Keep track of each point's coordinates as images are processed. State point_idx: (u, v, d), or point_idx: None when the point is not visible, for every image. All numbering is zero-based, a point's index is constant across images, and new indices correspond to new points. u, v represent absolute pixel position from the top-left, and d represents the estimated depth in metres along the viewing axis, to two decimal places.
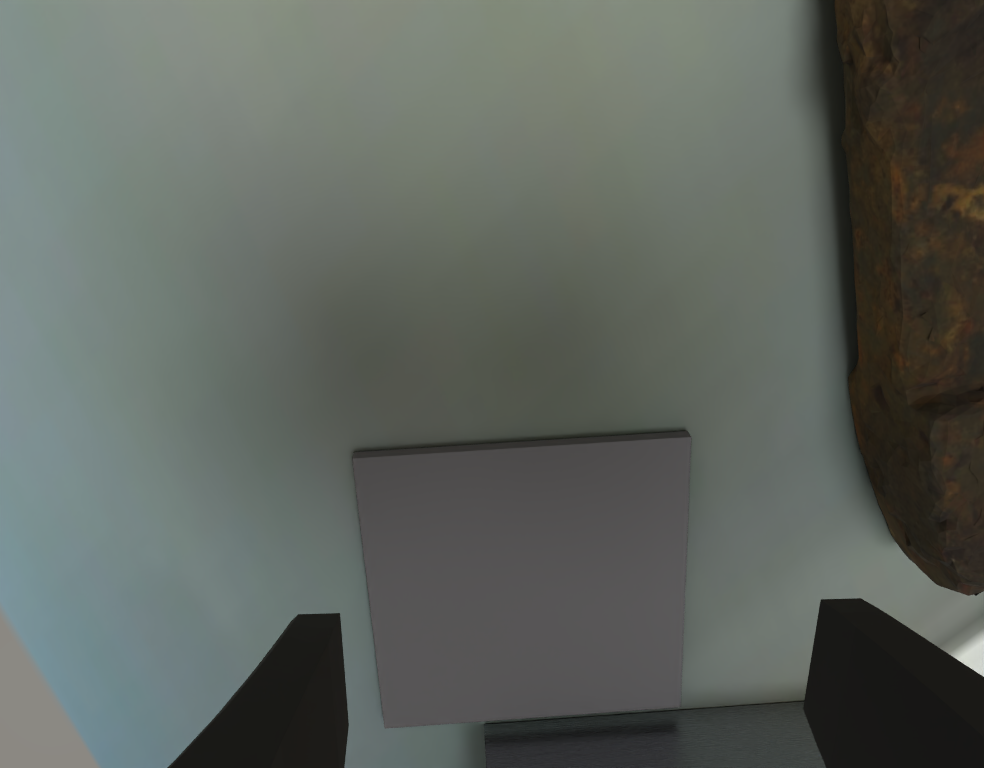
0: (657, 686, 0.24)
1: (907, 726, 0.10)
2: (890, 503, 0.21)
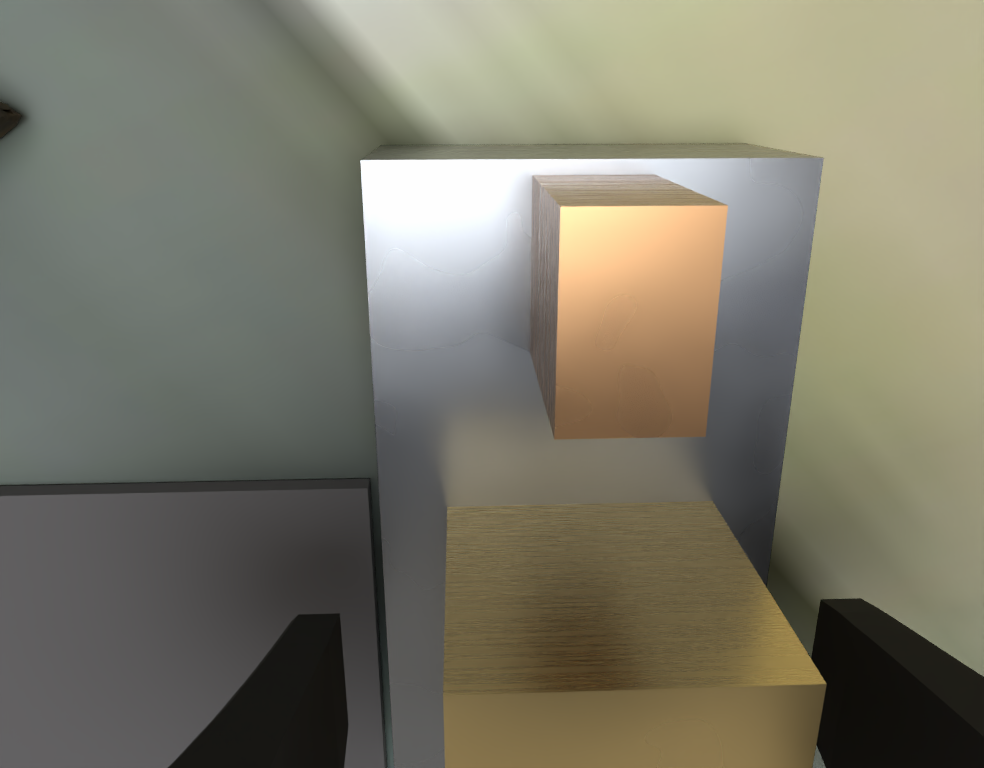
0: (323, 525, 0.15)
1: (907, 726, 0.10)
2: None
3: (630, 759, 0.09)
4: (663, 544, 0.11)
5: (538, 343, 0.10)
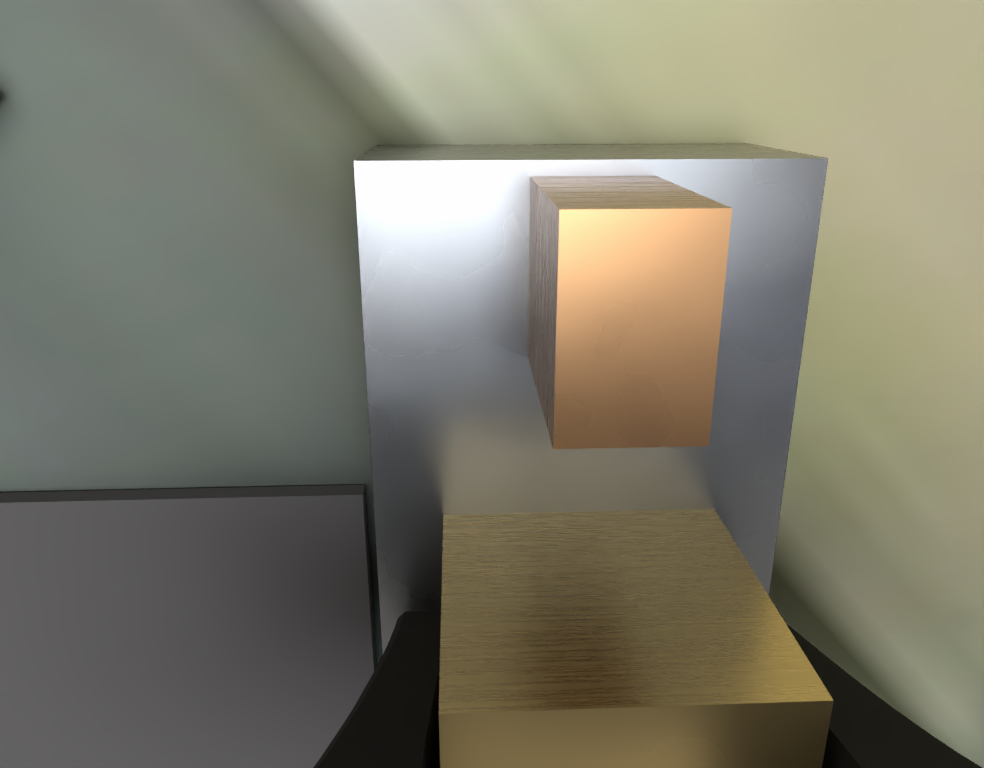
0: (317, 532, 0.15)
1: None
2: None
3: None
4: (664, 553, 0.11)
5: (536, 349, 0.10)
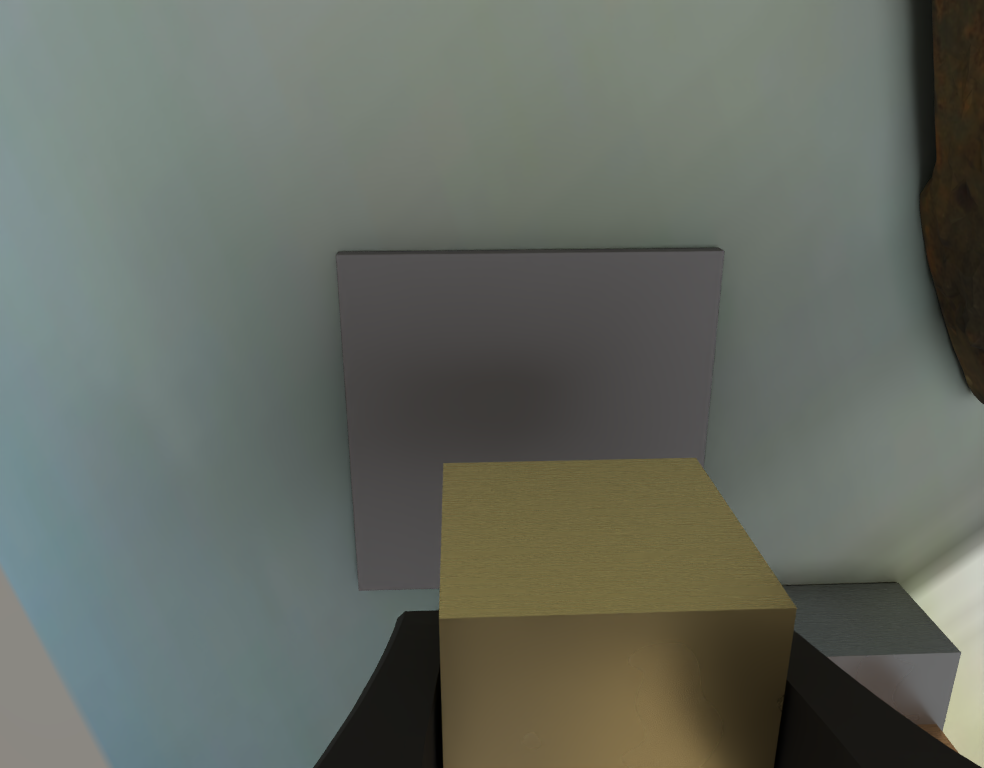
0: None
1: (783, 731, 0.10)
2: (973, 331, 0.18)
3: (614, 681, 0.09)
4: (648, 494, 0.12)
5: None
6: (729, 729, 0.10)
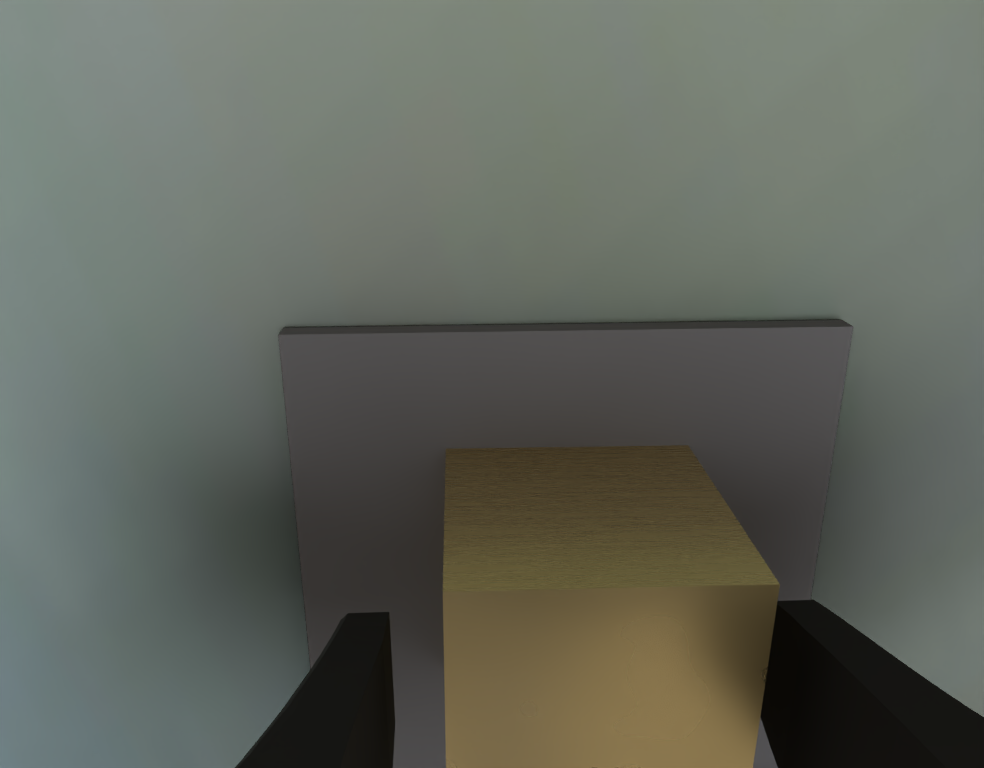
0: None
1: (850, 728, 0.10)
2: None
3: (608, 653, 0.10)
4: (641, 478, 0.12)
5: None
6: (715, 699, 0.10)
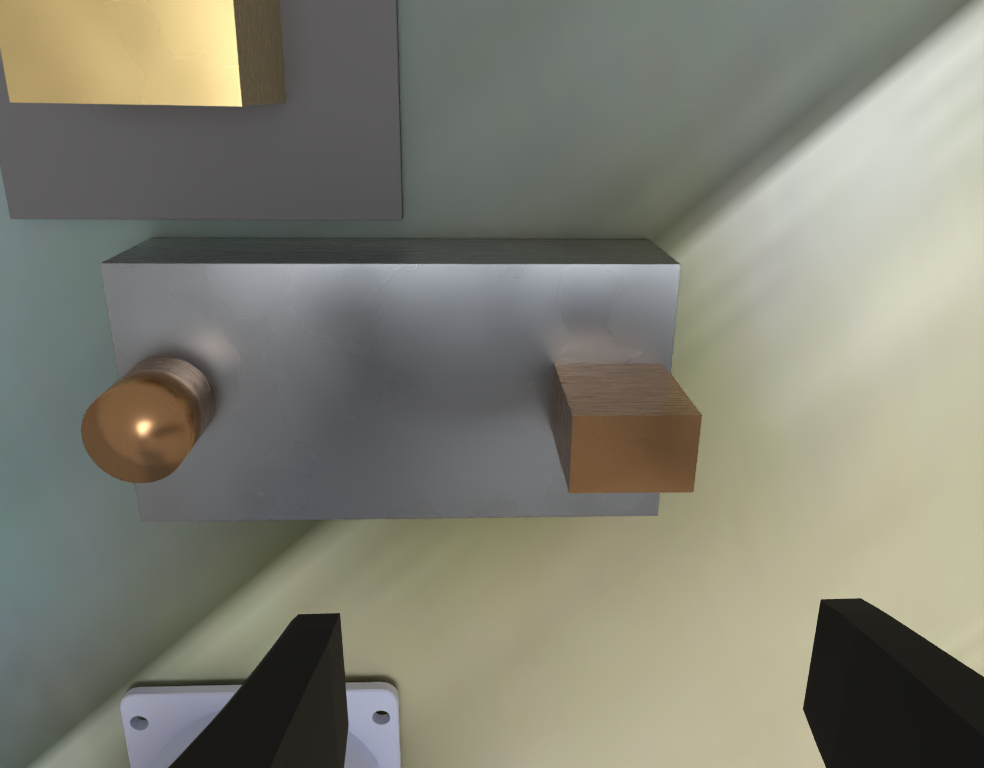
0: (368, 183, 0.19)
1: (907, 726, 0.10)
2: None
3: None
4: None
5: (584, 381, 0.17)
6: None
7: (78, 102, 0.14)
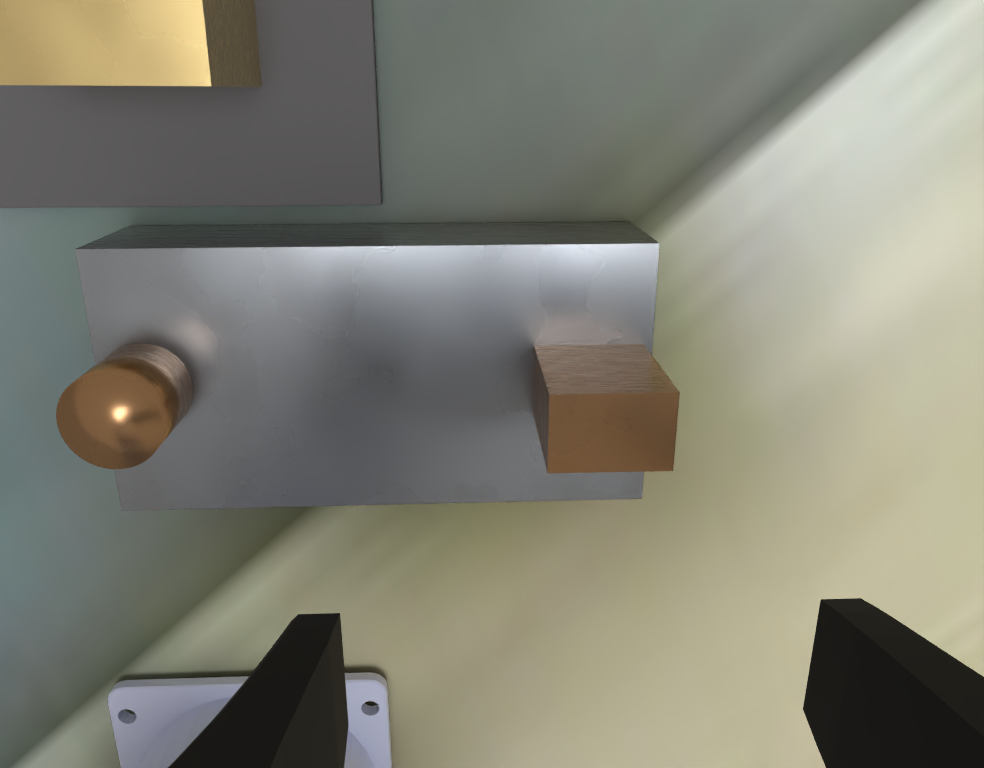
0: (347, 167, 0.19)
1: (907, 726, 0.10)
2: None
3: None
4: None
5: (563, 362, 0.16)
6: None
7: (46, 84, 0.14)
